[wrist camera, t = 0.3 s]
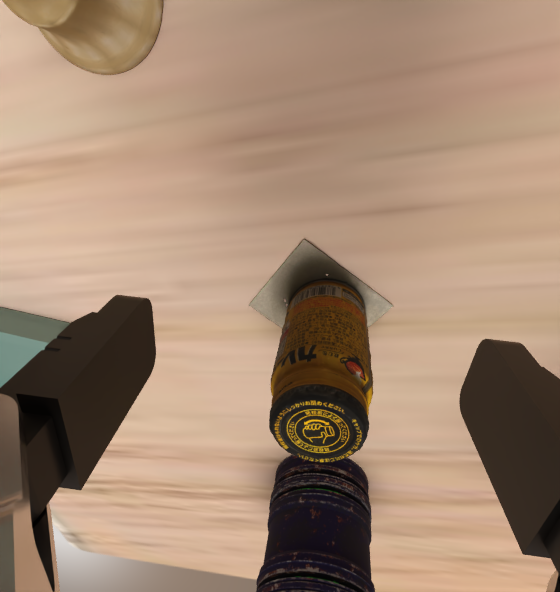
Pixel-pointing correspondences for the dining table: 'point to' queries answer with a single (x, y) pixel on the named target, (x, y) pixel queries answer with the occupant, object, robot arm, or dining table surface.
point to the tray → (23, 339)
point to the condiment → (320, 355)
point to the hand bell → (95, 30)
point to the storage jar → (318, 529)
